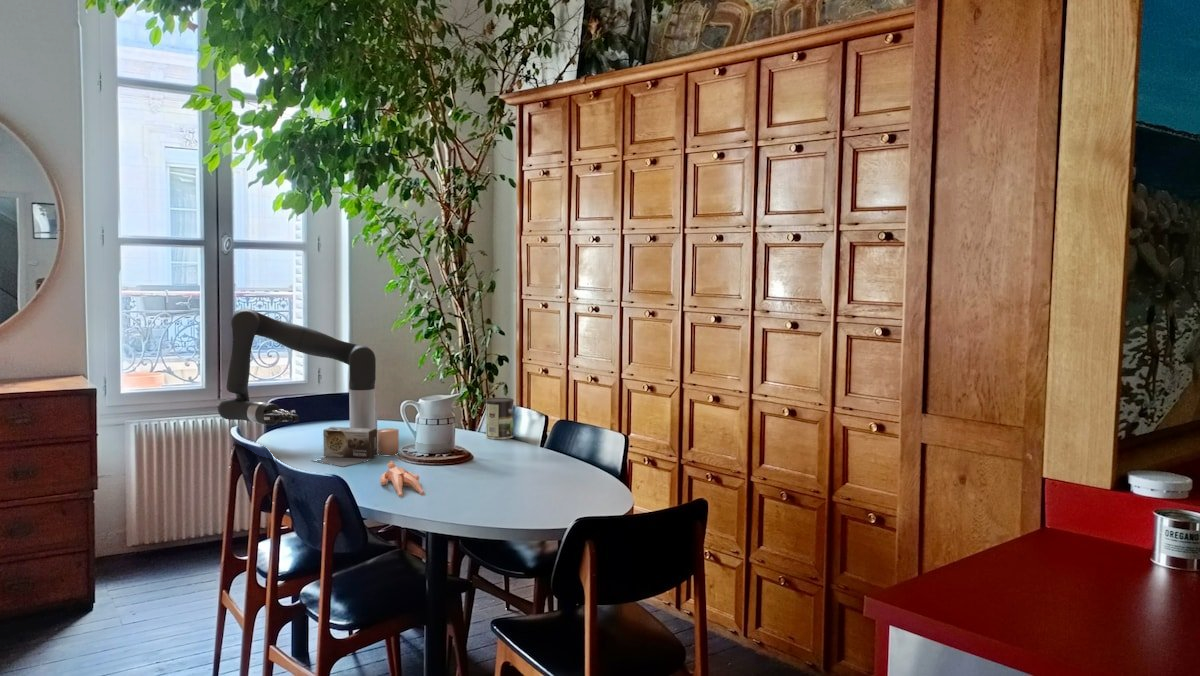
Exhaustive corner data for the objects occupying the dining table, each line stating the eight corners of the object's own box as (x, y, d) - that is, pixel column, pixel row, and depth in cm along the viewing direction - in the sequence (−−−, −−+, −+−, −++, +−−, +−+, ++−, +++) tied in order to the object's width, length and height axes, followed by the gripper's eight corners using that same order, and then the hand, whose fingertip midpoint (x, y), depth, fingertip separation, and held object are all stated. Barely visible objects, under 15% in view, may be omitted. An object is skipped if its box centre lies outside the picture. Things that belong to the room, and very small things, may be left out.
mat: (340, 454, 289) (340, 453, 289) (371, 460, 281) (371, 459, 281) (311, 461, 279) (311, 460, 279) (343, 467, 271) (342, 466, 271)
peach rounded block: (388, 450, 296) (388, 427, 295) (403, 453, 292) (403, 429, 292) (372, 454, 290) (372, 430, 289) (387, 457, 286) (387, 433, 286)
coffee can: (514, 434, 327) (515, 397, 326) (511, 439, 317) (511, 401, 316) (487, 434, 327) (487, 397, 326) (483, 439, 317) (483, 401, 316)
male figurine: (392, 487, 236) (372, 460, 258) (392, 504, 237) (372, 476, 258) (431, 483, 241) (408, 457, 263) (430, 500, 241) (407, 473, 263)
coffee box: (331, 452, 290) (377, 455, 288) (322, 456, 284) (369, 459, 281) (331, 425, 289) (377, 428, 287) (323, 429, 283) (369, 432, 281)
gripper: (246, 405, 294) (280, 410, 285) (279, 400, 305) (312, 405, 296) (247, 426, 295) (280, 432, 285) (280, 421, 306) (313, 426, 297)
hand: (296, 418), depth 291 cm, fingers closed
